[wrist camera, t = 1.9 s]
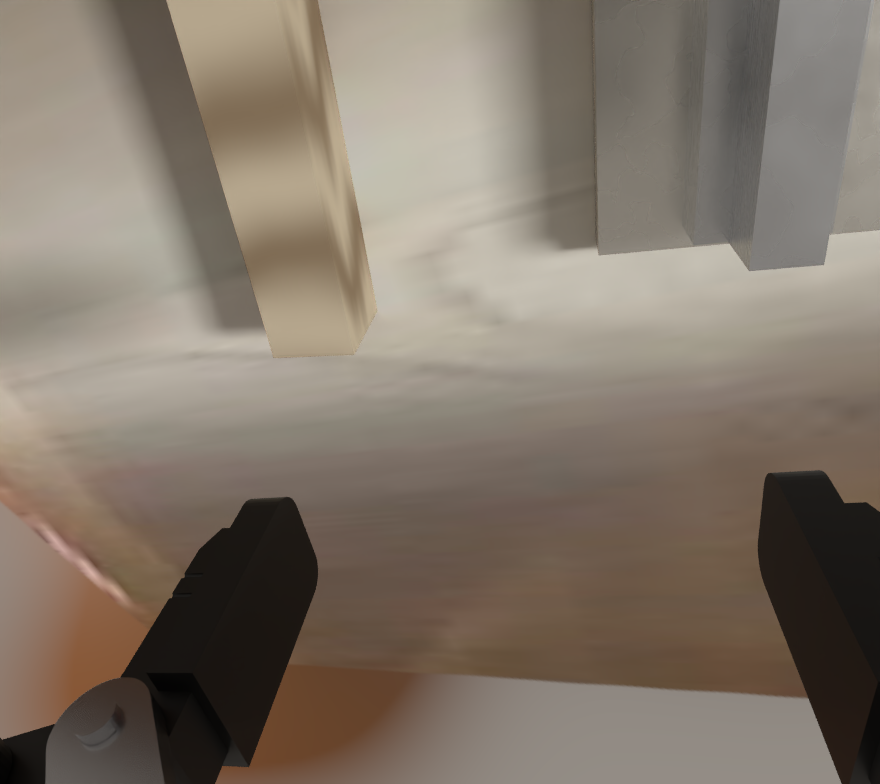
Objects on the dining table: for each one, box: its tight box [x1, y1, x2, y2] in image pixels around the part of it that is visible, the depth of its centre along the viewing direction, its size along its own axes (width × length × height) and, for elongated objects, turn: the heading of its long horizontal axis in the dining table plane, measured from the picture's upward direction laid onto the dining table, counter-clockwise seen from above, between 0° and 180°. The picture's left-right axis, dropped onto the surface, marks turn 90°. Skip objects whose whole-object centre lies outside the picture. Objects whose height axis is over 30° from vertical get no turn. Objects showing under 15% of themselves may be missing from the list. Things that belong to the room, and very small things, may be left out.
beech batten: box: [166, 0, 377, 358], centre depth 26 cm, size 22×4×5 cm, turn 7°
